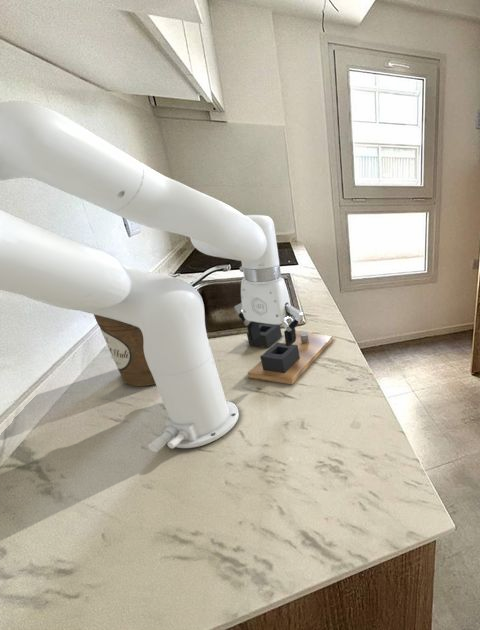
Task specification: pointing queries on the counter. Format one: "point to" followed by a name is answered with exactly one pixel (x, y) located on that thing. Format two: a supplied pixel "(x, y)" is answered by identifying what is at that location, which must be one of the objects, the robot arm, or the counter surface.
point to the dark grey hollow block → (266, 335)
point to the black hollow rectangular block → (280, 357)
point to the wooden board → (308, 352)
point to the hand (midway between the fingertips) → (273, 341)
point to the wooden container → (126, 350)
